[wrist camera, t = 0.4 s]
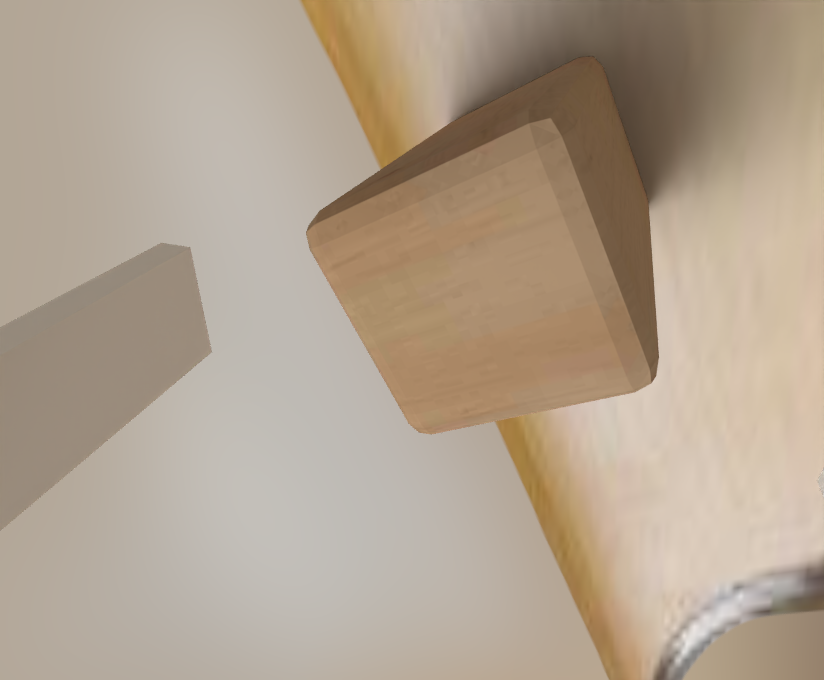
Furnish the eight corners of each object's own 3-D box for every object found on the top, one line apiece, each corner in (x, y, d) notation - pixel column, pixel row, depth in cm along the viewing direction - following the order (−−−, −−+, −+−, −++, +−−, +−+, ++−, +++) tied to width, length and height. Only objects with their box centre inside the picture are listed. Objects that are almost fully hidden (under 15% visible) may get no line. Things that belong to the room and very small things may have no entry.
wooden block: (441, 126, 36) (285, 229, 20) (597, 46, 31) (558, 98, 15) (503, 263, 39) (411, 448, 23) (653, 210, 35) (669, 397, 18)
